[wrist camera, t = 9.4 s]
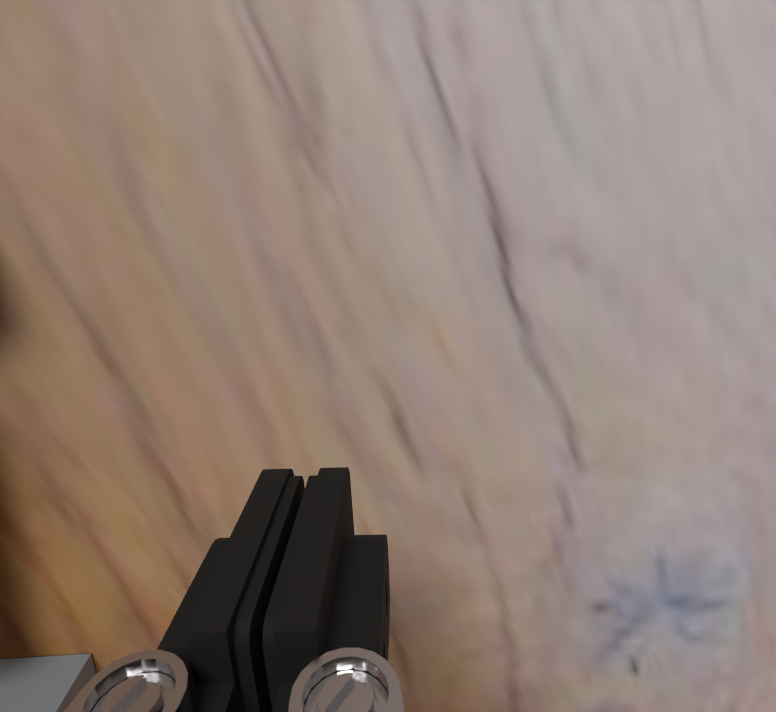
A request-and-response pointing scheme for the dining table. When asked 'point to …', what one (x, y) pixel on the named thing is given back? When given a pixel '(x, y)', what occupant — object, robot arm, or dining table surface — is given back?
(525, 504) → the dining table surface
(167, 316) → the dining table surface
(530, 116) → the dining table surface
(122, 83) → the dining table surface
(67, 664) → the display stand
